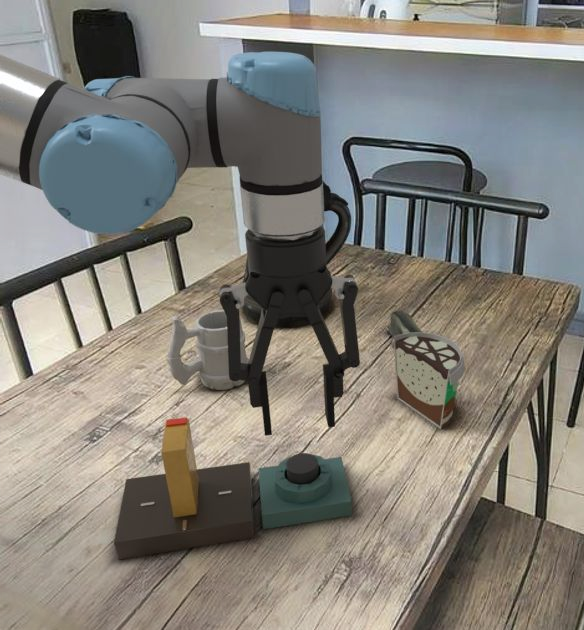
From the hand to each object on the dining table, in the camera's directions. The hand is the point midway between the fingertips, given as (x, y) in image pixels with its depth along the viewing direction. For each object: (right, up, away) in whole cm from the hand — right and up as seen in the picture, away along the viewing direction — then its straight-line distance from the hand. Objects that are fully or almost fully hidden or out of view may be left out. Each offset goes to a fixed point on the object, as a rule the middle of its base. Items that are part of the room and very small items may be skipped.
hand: (299, 423), depth 75 cm
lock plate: (-13, -11, +2) cm, 17 cm away
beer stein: (-10, +14, +50) cm, 52 cm away
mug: (-18, +2, +27) cm, 32 cm away
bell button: (0, -6, +3) cm, 7 cm away
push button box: (0, -10, +5) cm, 11 cm away
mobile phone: (+12, +6, +36) cm, 39 cm away
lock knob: (-13, -9, +1) cm, 15 cm away
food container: (+16, -1, +23) cm, 27 cm away
